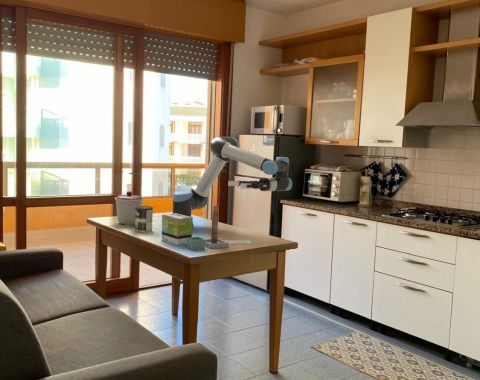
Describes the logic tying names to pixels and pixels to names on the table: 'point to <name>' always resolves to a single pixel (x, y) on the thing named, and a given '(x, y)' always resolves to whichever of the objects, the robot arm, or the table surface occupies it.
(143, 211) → the coffee can
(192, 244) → the cup
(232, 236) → the table surface
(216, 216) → the dowel
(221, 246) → the tray
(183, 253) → the table surface
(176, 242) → the tea box
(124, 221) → the canister
